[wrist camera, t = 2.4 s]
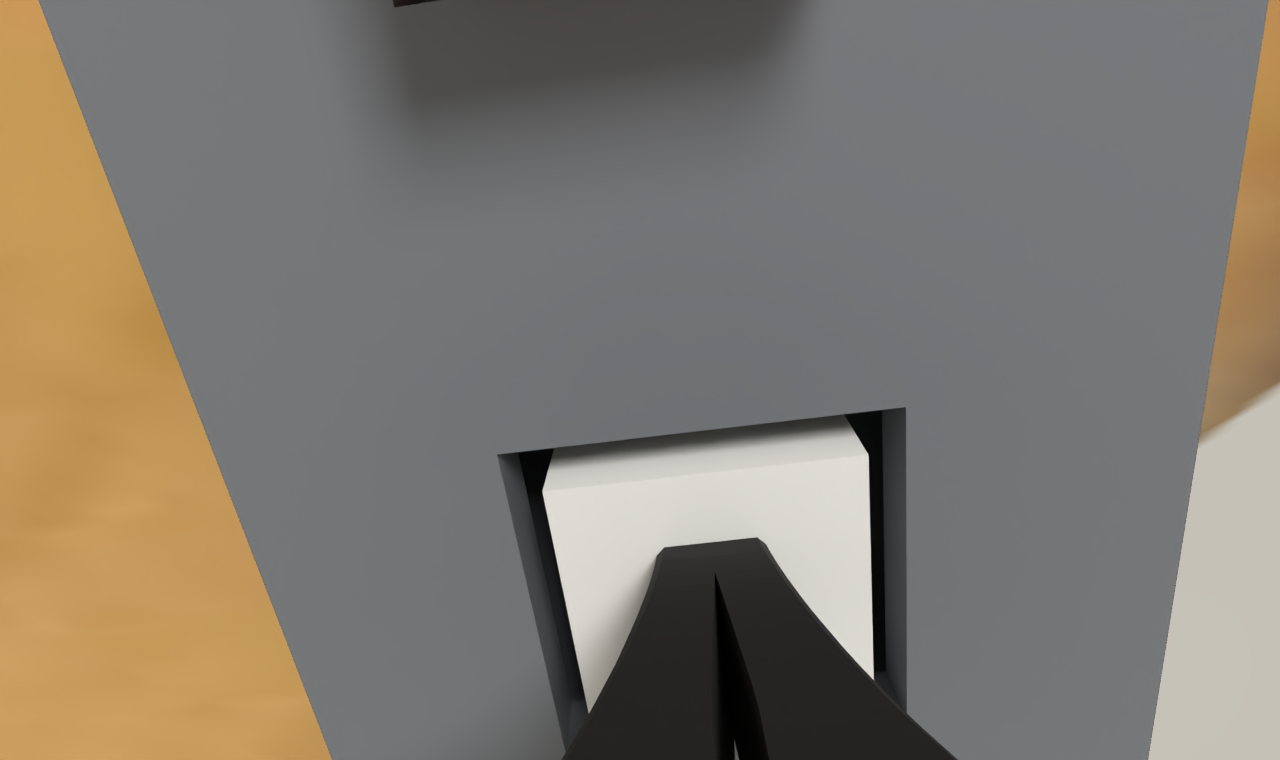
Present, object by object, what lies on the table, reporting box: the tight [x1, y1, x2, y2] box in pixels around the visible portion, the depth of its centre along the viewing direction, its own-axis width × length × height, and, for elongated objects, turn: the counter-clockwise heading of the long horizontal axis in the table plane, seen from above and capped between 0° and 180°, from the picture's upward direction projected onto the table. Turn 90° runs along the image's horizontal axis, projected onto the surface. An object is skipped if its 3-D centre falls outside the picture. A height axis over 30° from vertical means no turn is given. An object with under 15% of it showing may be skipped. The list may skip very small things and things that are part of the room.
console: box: [39, 0, 1269, 760], centre depth 10 cm, size 12×20×5 cm, turn 8°
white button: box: [542, 414, 874, 713], centre depth 12 cm, size 4×4×4 cm
